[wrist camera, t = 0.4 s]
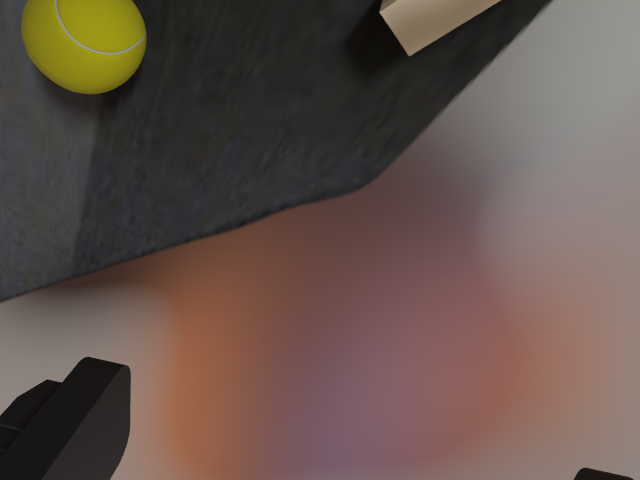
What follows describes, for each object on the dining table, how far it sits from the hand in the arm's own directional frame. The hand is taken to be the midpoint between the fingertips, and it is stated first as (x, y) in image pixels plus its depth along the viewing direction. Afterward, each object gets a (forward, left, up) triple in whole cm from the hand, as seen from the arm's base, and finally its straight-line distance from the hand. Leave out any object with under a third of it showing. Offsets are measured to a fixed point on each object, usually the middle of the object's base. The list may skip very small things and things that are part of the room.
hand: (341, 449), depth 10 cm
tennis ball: (-8, -19, -30) cm, 36 cm away
